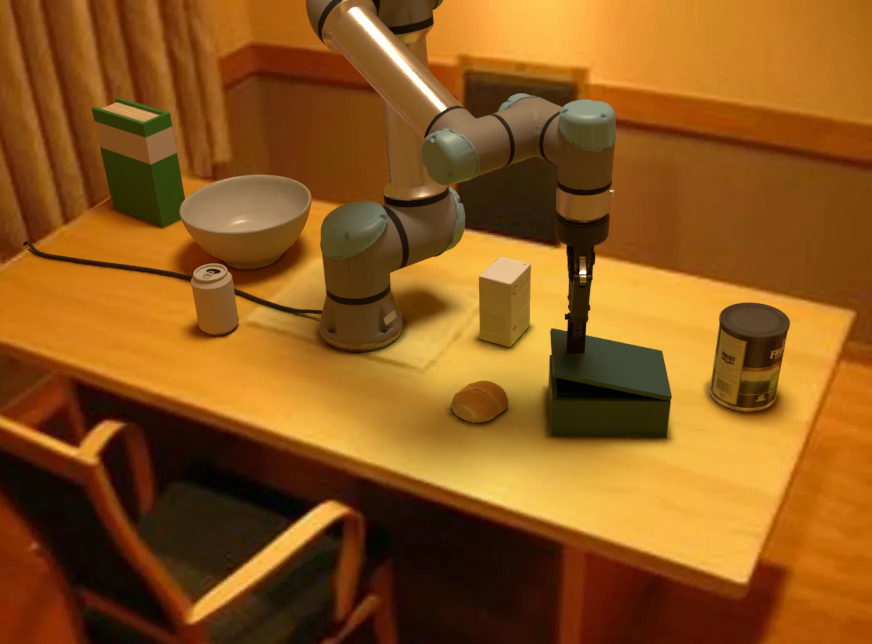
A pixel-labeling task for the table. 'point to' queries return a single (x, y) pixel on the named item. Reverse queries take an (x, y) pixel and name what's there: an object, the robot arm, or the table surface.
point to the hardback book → (140, 161)
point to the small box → (504, 301)
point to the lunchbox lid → (611, 366)
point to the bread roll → (479, 401)
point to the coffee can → (748, 356)
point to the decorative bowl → (247, 218)
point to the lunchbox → (603, 411)
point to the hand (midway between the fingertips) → (575, 350)
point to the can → (214, 299)
